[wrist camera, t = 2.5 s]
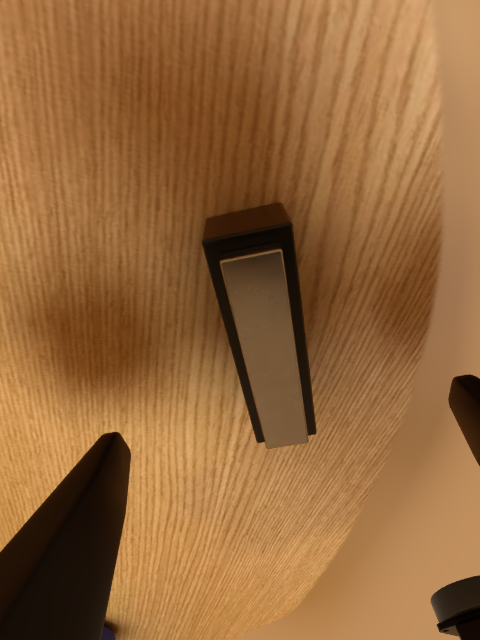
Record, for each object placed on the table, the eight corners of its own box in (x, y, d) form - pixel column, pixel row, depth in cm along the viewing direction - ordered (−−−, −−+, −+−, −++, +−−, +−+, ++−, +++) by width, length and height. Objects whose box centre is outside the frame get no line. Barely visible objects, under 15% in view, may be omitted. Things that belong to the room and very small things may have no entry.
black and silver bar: (307, 396, 15) (320, 448, 13) (253, 405, 15) (258, 457, 13) (282, 201, 10) (297, 230, 8) (204, 217, 10) (198, 250, 8)
